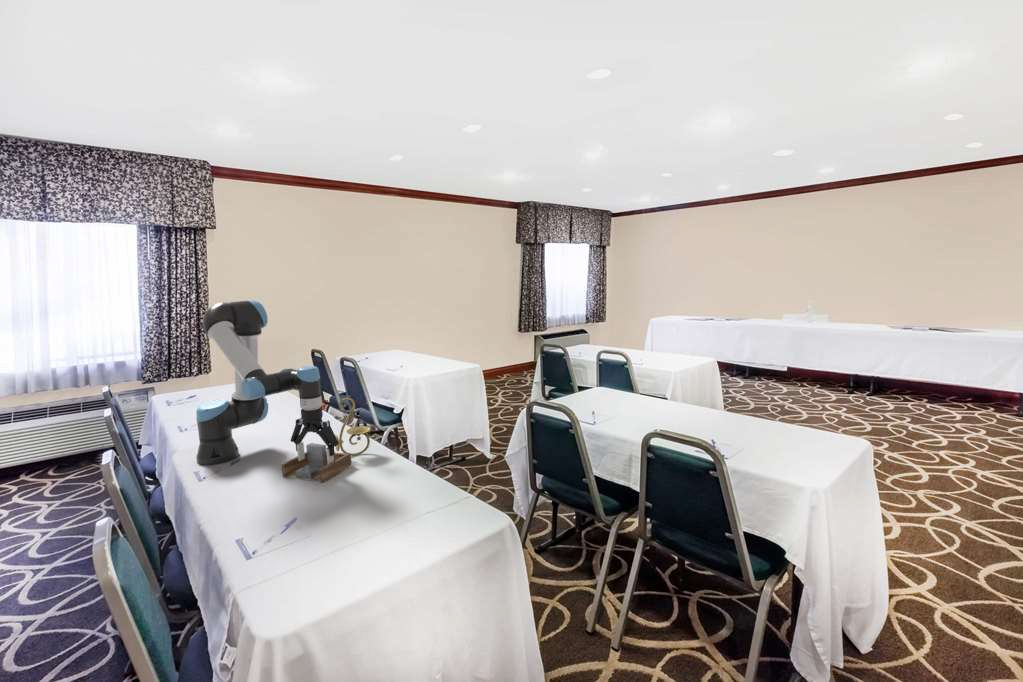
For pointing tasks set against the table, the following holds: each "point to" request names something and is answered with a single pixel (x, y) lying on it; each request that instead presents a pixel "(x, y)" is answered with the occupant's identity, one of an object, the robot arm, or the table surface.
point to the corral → (326, 473)
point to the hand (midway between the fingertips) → (316, 461)
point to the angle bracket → (313, 461)
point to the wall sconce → (352, 431)
